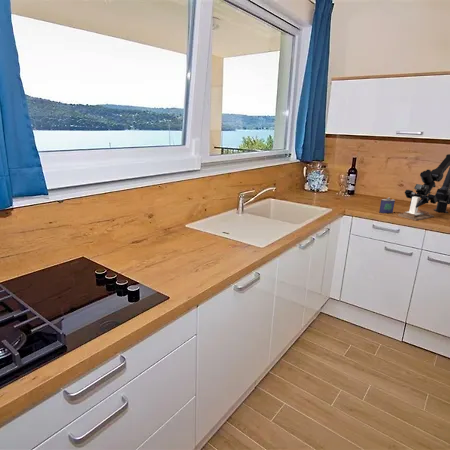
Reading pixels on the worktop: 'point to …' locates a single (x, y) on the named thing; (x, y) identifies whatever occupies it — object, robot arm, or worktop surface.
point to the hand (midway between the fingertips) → (413, 206)
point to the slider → (414, 206)
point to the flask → (386, 206)
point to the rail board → (418, 217)
